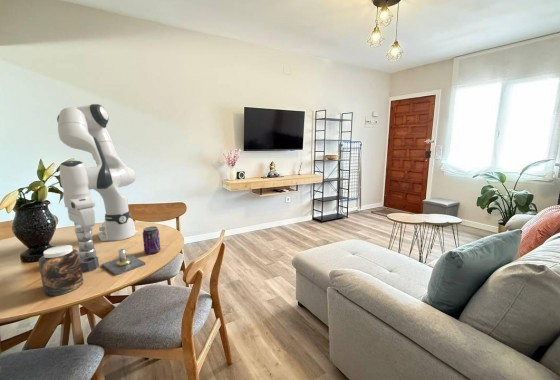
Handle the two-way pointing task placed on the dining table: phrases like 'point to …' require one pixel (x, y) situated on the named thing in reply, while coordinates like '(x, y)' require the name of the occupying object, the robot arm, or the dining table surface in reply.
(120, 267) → the post stand
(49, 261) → the jar
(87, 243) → the plastic bottle
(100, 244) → the dining table surface
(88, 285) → the dining table surface
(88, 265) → the octagonal nut
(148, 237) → the beverage can
